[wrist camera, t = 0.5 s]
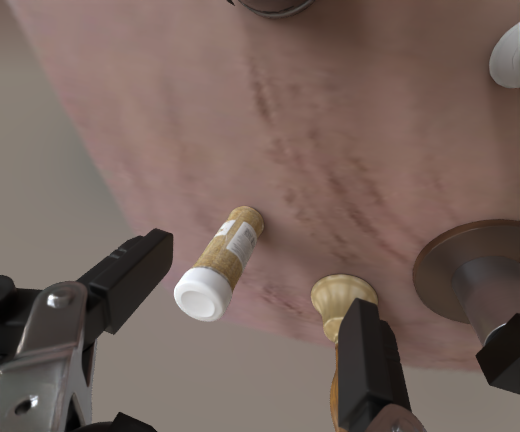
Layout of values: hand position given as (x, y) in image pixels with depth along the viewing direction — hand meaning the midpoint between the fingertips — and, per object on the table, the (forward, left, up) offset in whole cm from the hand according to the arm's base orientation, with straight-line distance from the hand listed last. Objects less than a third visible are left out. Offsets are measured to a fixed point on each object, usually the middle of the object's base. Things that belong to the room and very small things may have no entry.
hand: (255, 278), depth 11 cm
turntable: (+8, +21, -18) cm, 29 cm away
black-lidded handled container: (+8, +22, -17) cm, 29 cm away
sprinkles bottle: (+9, -5, -19) cm, 21 cm away
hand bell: (+17, +9, -19) cm, 27 cm away
